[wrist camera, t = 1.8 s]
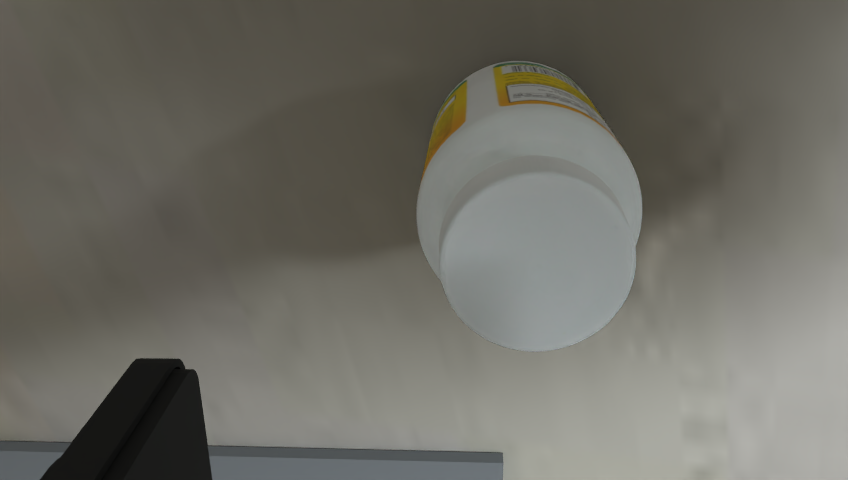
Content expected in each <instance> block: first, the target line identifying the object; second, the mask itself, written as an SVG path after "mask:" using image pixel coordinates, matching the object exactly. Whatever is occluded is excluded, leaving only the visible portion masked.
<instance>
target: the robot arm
mask: <svg viewBox="0 0 848 480" xmlns="http://www.w3.org/2000/svg"><path fill="white" fill-rule="evenodd" d="M40 480H212V473H211V466H210V459H209V451H208V444H207V437H206V430H205V423H204V415H203V408H202V401H201V394H200V387H199V380H198V375H197V373H196V371H195V370H193V369H185V366H184V364H183V362H182V361H181V360H180V359H143V358H140V359H136V360H135V361H134V362H133V363H132V364H131V365H130V366H129V368H128V369H127V370H126V372H125V373H124V374H123V376H122V377H121V378H120V380H119V381H118V382H117V383H116V385H115V386H114V387H113V389H112V390H111V391H110V393H109V394H108V395H107V397H106V398H105V399H104V401H103V402H102V403H101V405H100V406H99V407H98V408H97V410H96V411H95V412H94V414H93V415H92V416H91V418H90V419H89V420H88V422H87V423H86V424H85V426H84V427H83V428H82V430H81V431H80V432H79V433H78V435H77V436H76V437H75V439H74V440H73V441H72V443H71V444H70V445H69V447H68V448H67V449H66V451H65V452H64V453H63V455H62V456H61V457H60V458H58V459H57V460H56V461H55V462H54V463H53V464H52V465H51V466H50V467H49V468H48V469H47V471H46V472H45V473H44V475H43V476H42V477H41V479H40Z"/></svg>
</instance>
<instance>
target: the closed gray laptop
mask: <svg viewBox="0 0 848 480" xmlns="http://www.w3.org/2000/svg"><path fill="white" fill-rule="evenodd" d="M70 444H71V443H62V442H20V441H0V480H40V479H41V477H42V476H43V475H44V473H45V472H46V471H47V469H48V468H49V467H50V466H51V465H52V464H53V463H54V462H55V461H56V460H57V459H58V458H60V457H61V456H62V455H63V453H64V452H65V451H66V449H67V448H68V447H69V445H70ZM208 451H209V459H210V466H211V473H212V480H503V453H486V452H444V451H402V450H359V449H317V448H274V447H232V446H208Z"/></svg>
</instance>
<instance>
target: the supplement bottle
mask: <svg viewBox="0 0 848 480" xmlns="http://www.w3.org/2000/svg"><path fill="white" fill-rule="evenodd" d="M416 211H417V229H418V235H419V239H420V243H421V246H422V250H423V252H424V254H425V257H426V259H427V261H428V263H429V264H430V266H431V268H432V270H433V271H434V273H435V274H436V276H437V277H438V278H439V279H440V281H441V282H442V285H443V289H444V292H445V295H446V297H447V299H448V301H449V303H450V305H451V307H452V308H453V310H454V311H455V312H456V314H457V315H458V316H459V318H460V319H461V320H462V322H464V323H465V324H466V325H467V326H468V327H469V328H471V329H472V330H473V331H474V332H476V333H477V334H478V335H480V336H481V337H483V338H485V339H486V340H488V341H490V342H492V343H494V344H497V345H500V346H503V347H505V348H510V349H514V350H520V351H529V352H539V351H550V350H557V349H561V348H564V347H568V346H571V345H574V344H576V343H579V342H581V341H582V340H584V339H587V338H588V337H590V336H592V335H593V334H595V333H596V332H598V331H599V330H600V329H602V328H603V327H604V326H605V325H606V324H607V323H608V322H609V321H610V320H611V319H612V318H613V317H614V316H615V315H616V313H617V312H618V311H619V309H620V308H621V307H622V305H623V304H624V302H625V300H626V298H627V296H628V294H629V292H630V289H631V287H632V283H633V280H634V276H635V269H636V248H635V246H636V244H637V241H638V238H639V234H640V229H641V222H642V195H641V190H640V185H639V181H638V177H637V175H636V172H635V170H634V167H633V165H632V163H631V161H630V159H629V157H628V156H627V154H626V152H625V151H624V149H623V148H622V146H621V145H620V143H619V142H618V140H617V139H616V137H615V136H614V134H613V133H612V131H611V130H610V128H609V127H608V126H607V124H606V123H605V121H604V120H603V118H602V117H601V115H600V114H599V113H598V111H597V110H596V108H595V107H594V105H593V104H592V102H591V101H590V99H589V98H588V97H587V95H586V94H585V93H584V92H583V91H582V89H581V88H580V87H579V86H578V85H577V84H576V83H575V82H574V81H573V80H571V79H570V78H569V77H568V76H566V75H565V74H563V73H561V72H560V71H558V70H556V69H554V68H551V67H549V66H546V65H543V64H539V63H535V62H529V61H507V62H501V63H496V64H493V65H490V66H487V67H485V68H482V69H480V70H478V71H476V72H474V73H473V74H471V75H470V76H468V77H467V78H466V79H464V80H463V81H462V82H460V83H459V84H458V85H457V86H456V87H455V88H454V89H453V90H452V91H451V93H450V94H449V95H448V97H447V98H446V100H445V101H444V103H443V104H442V106H441V108H440V110H439V112H438V114H437V117H436V119H435V122H434V125H433V129H432V134H431V138H430V142H429V147H428V151H427V156H426V161H425V166H424V171H423V175H422V179H421V184H420V188H419V193H418V198H417V209H416Z"/></svg>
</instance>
